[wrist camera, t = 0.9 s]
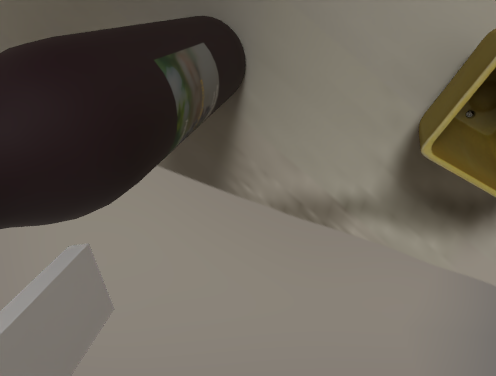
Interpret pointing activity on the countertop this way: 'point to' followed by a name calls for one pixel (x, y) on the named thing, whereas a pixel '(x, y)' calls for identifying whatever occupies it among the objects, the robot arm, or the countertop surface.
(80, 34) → the wine bottle
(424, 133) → the flower pot
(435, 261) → the countertop surface
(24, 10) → the countertop surface
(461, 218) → the countertop surface
